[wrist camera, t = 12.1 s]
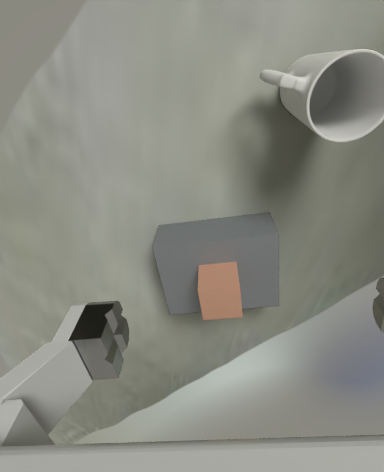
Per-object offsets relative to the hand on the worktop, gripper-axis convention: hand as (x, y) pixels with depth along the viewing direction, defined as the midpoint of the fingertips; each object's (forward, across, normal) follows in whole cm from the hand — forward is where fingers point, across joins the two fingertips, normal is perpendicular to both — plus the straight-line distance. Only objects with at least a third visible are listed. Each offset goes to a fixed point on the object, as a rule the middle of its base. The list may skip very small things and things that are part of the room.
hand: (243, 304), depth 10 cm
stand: (+31, +2, +19) cm, 36 cm away
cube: (+25, +2, +19) cm, 31 cm away
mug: (+31, -9, -3) cm, 33 cm away
